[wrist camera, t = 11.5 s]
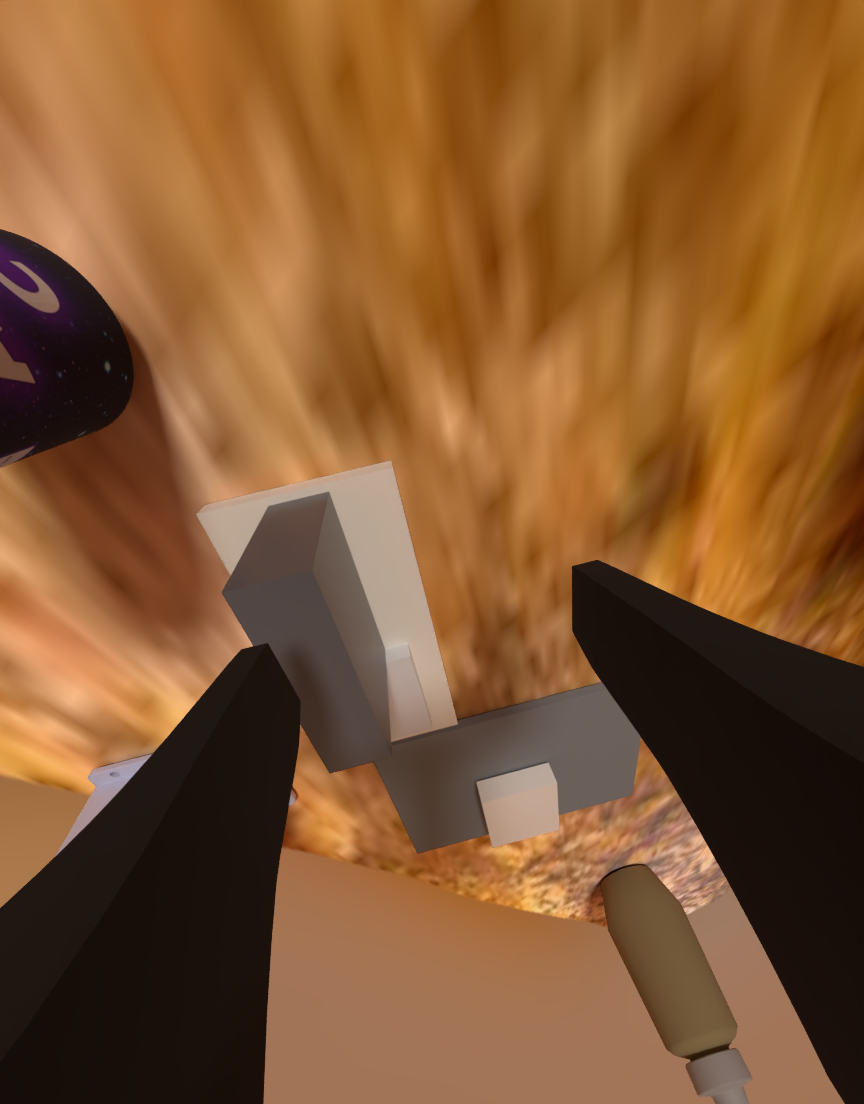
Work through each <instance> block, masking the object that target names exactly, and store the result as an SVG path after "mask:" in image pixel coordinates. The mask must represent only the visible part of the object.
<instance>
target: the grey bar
mask: <svg viewBox="0 0 864 1104" xmlns="http://www.w3.org/2000/svg"><path fill="white" fill-rule="evenodd" d="M222 594H223V596H224V597H225V599H226V601H227V602H228V604H229V606H230V607H231V609H232V611H233V612H234V614H235V616H236V617H237V619H238V621H239V622H240V624H241V626H242V627H243V629H244V631H245V632H246V634H247V636H248V638H249V639H250V641H251V643H252V644H253V646H257V645H261V644H265V643H268V644H269V646H270V648H271V649H272V651H273V653H274V655H275V656H276V658H277V660H278V662H279V663H280V665H281V667H282V669H283V670H284V672H285V674H286V676H287V677H288V679H289V681H290V683H291V685H292V686H293V688H294V690H295V692H296V693H297V695H298V697H299V699H300V700H301V711H300V724H301V726H302V728H303V729H304V731H305V733H306V734H307V736H308V738H309V740H310V741H311V743H312V745H313V746H314V748H315V750H316V751H317V753H318V755H319V756H320V758H321V760H322V761H323V763H324V765H325V766H326V768H327V770H328V771H329V773H333V772H337V771H341V770H345V769H348V768H352V767H356V766H360V765H363V764H367V763H371V762H375V761H379V760H382V759H386V758H390V757H392V746H391V739H395V738H398V737H402V736H406V735H410V734H414V733H417V732H421V731H425V730H429V729H433V728H432V722H431V716H430V712H429V709H428V705H427V702H426V699H425V696H424V692H423V689H422V686H421V683H420V679H419V676H418V673H417V670H416V666H415V663H414V660H413V657H412V654H411V650H410V647H409V644H408V643H406V644H402V645H398V646H394V647H390V648H386V649H385V647H384V644H383V642H382V639H381V636H380V633H379V630H378V628H377V625H376V622H375V619H374V616H373V614H372V611H371V608H370V605H369V602H368V599H367V597H366V594H365V591H364V588H363V585H362V583H361V580H360V577H359V574H358V571H357V569H356V566H355V563H354V560H353V557H352V554H351V552H350V549H349V546H348V543H347V540H346V538H345V535H344V532H343V529H342V526H341V523H340V521H339V518H338V515H337V512H336V509H335V507H334V504H333V501H332V498H331V495H330V493H329V492H325V493H320V494H316V495H312V496H308V497H304V498H300V499H295V500H291V501H287V502H283V503H279V504H275V505H270V506H268V508H267V509H266V511H265V513H264V515H263V517H262V519H261V521H260V522H259V524H258V526H257V528H256V530H255V532H254V534H253V535H252V537H251V539H250V541H249V543H248V545H247V546H246V548H245V550H244V552H243V554H242V556H241V558H240V559H239V561H238V563H237V565H236V567H235V569H234V571H233V572H232V574H231V576H230V578H229V580H228V582H227V583H226V585H225V587H224V589H223V591H222Z"/></svg>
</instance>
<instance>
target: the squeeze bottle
mask: <svg viewBox="0 0 864 1104" xmlns="http://www.w3.org/2000/svg"><path fill="white" fill-rule="evenodd" d="M601 889H602V895H603V901H604V907H605V913H606V919H607V925H608V930H609V933H610V935H611V937H612V939H613V941H614V943H615V945H616V947H617V949H618V951H619V954H620V955H621V957H622V960H623V962H624V964H625V966H626V968H627V970H628V972H629V974H630V976H631V978H632V980H633V982H634V984H635V986H636V988H637V990H638V992H639V994H640V996H641V998H642V1001H643V1003H644V1005H645V1006H646V1009H647V1011H648V1013H649V1015H650V1017H651V1019H652V1021H653V1023H654V1025H655V1027H656V1029H657V1031H658V1033H659V1035H660V1037H661V1039H662V1041H663V1043H664V1045H665V1047H666V1049H667V1050H668V1051H669V1052H671V1053H672V1054H673V1055H675V1056H679V1057H682V1058H686V1059H690V1061H691V1062H689V1063H687V1064H686V1070H687V1072H688V1074H689V1076H690V1079H691V1081H692V1083H693V1085H694V1088H695V1090H696V1092H697V1095H699V1096H711V1097H712V1098H713V1100H714V1101H715V1103H716V1104H749V1101H748V1099H747V1096H746V1093H745V1090H744V1085H745V1084H747V1083H748V1082H749V1081H751V1080H752V1076H751V1074H750V1072H749V1070H748V1068H747V1066H746V1064H745V1062H744V1060H743V1058H742V1056H741V1054H740V1052H739V1051H738V1049H736V1048H733V1049H729V1045H730V1044H731V1042H732V1041H733V1039H734V1038H735V1036H736V1032H737V1023H736V1021H735V1019H734V1017H733V1015H732V1013H731V1011H730V1008H729V1006H728V1004H727V1002H726V1000H725V998H724V995H723V994H722V991H721V989H720V987H719V985H718V983H717V981H716V978H715V976H714V974H713V972H712V970H711V967H710V966H709V963H708V961H707V959H706V957H705V955H704V953H703V950H702V948H701V946H700V944H699V942H698V940H697V937H696V935H695V933H694V931H693V929H692V927H691V925H690V923H689V920H688V918H687V916H686V914H685V912H684V909H683V907H682V905H681V903H680V902H679V901H678V900H677V899H676V898H675V896H674V895H673V894H672V893H671V892H670V891H669V890H668V888H667V887H666V886H665V885H664V884H663V883H662V882H661V880H660V879H659V878H658V877H657V876H656V875H655V874H654V872H653V871H652V870H651V869H650V868H649V867H647V866H643V865H637V866H630V867H626V868H623V869H620V870H618V871H616V872H614V873H612V874H610V875H609V876H608V877H606V878H605V879H604V880H603V882H602V883H601Z"/></svg>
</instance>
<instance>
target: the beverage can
mask: <svg viewBox="0 0 864 1104" xmlns="http://www.w3.org/2000/svg"><path fill="white" fill-rule="evenodd" d="M133 379H134V371H133V362H132V356H131V352H130V348H129V345H128V342H127V339H126V337H125V334H124V332H123V330H122V328H121V326H120V324H119V322H118V320H117V318H116V316H115V315H114V313H113V312H112V310H111V309H110V307H109V306H108V304H107V303H106V301H105V300H104V299H103V298H102V296H101V295H100V294H99V293H98V291H97V290H96V289H95V288H94V287H93V286H92V285H91V284H90V283H89V282H88V281H87V280H86V279H85V278H84V277H83V276H82V275H81V274H80V273H79V272H78V271H77V270H76V269H74V268H73V267H72V266H71V265H70V264H68V263H67V262H66V261H64V260H63V259H62V258H60V257H59V256H57V255H56V254H54V253H53V252H51V251H50V250H48V249H46V248H45V247H43V246H41V245H39V244H37V243H35V242H33V241H31V240H29V239H27V238H25V237H22V236H20V235H17V234H14V233H11V232H8V231H5V230H1V229H0V468H1V467H3V466H6V465H9V464H11V463H14V462H17V461H19V460H22V459H24V458H27V457H30V456H32V455H35V454H38V453H40V452H43V451H45V450H48V449H51V448H53V447H56V446H59V445H61V444H64V443H66V442H69V441H72V440H74V439H77V438H80V437H82V436H85V435H87V434H90V433H93V432H95V431H98V430H100V429H102V428H104V427H106V426H108V425H109V424H111V423H112V422H113V421H114V420H115V419H117V418H118V417H119V415H120V414H121V413H122V412H123V410H124V409H125V407H126V405H127V403H128V401H129V399H130V396H131V392H132V387H133Z"/></svg>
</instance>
